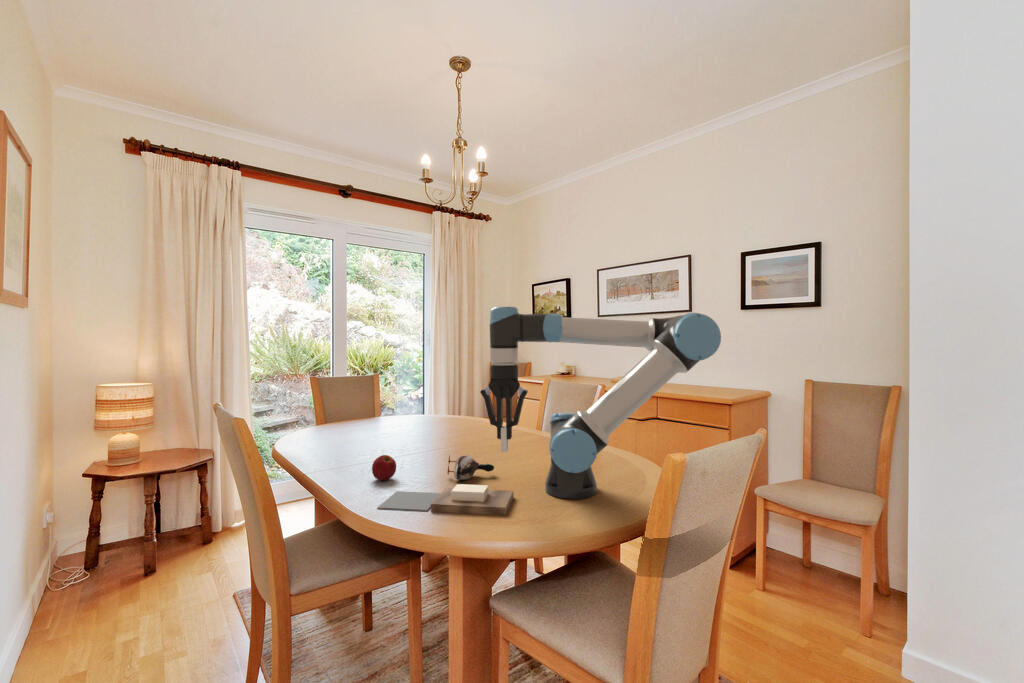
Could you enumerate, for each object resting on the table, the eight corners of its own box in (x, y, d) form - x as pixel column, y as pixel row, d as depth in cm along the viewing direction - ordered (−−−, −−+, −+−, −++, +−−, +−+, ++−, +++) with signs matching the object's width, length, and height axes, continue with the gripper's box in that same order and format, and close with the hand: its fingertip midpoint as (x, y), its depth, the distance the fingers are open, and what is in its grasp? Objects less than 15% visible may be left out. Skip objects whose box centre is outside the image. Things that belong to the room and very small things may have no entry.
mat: (442, 494, 133) (442, 493, 133) (427, 511, 121) (427, 509, 121) (396, 492, 136) (396, 491, 136) (377, 508, 123) (377, 507, 123)
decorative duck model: (495, 454, 154) (494, 464, 139) (493, 476, 154) (492, 489, 139) (450, 450, 154) (445, 460, 139) (448, 473, 154) (443, 485, 139)
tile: (488, 493, 128) (488, 485, 128) (483, 501, 122) (483, 492, 122) (457, 492, 129) (457, 484, 129) (451, 500, 123) (451, 491, 123)
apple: (371, 485, 143) (371, 459, 143) (372, 477, 151) (372, 453, 151) (396, 482, 145) (396, 457, 145) (396, 475, 153) (395, 451, 153)
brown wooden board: (513, 497, 130) (513, 490, 130) (505, 515, 117) (505, 507, 117) (445, 494, 133) (445, 487, 133) (430, 511, 120) (430, 504, 120)
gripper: (529, 363, 126) (530, 448, 126) (483, 363, 128) (484, 447, 128) (526, 365, 119) (526, 455, 119) (477, 364, 121) (477, 453, 121)
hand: (504, 451), depth 124 cm, fingers closed
